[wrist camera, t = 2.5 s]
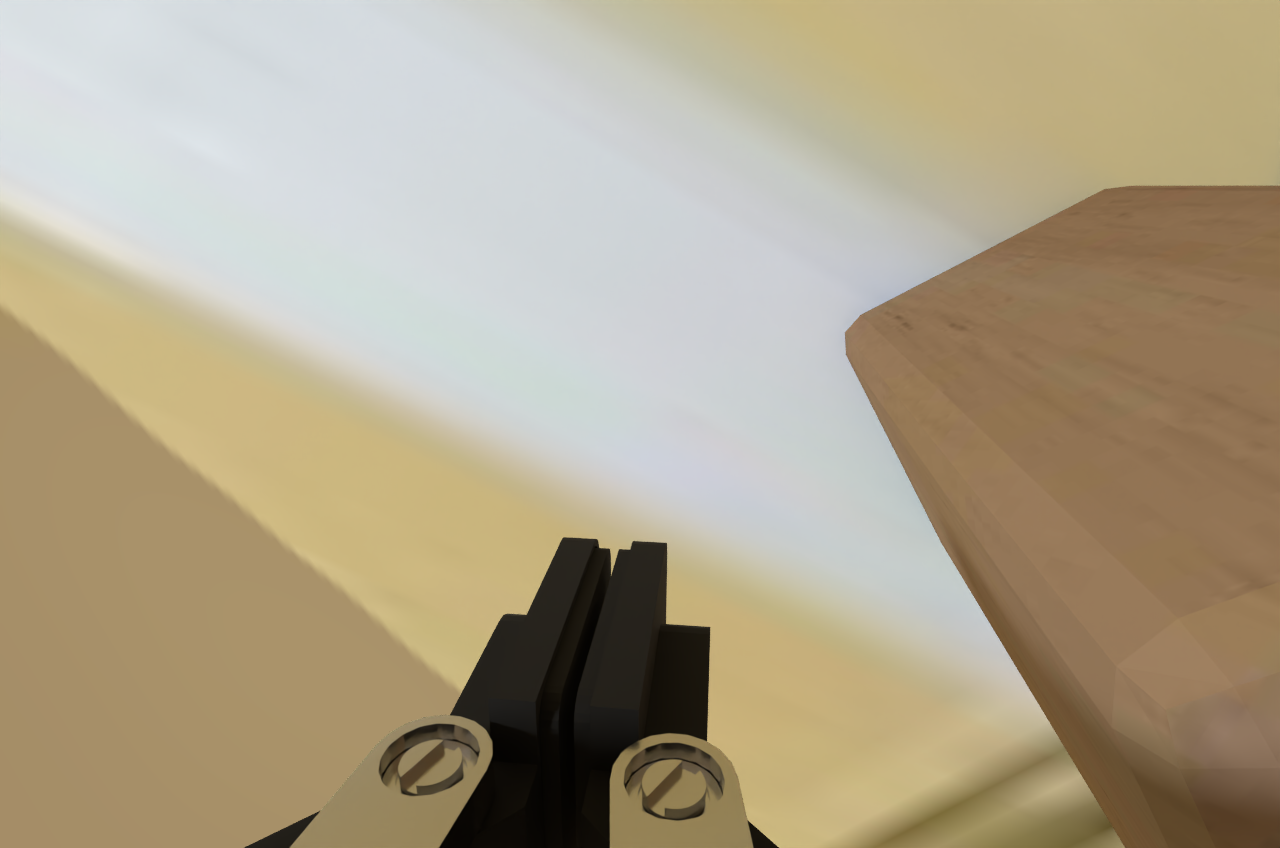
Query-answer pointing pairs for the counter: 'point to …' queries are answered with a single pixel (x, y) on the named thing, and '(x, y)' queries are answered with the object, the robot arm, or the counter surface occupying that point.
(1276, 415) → the block
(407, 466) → the counter surface
